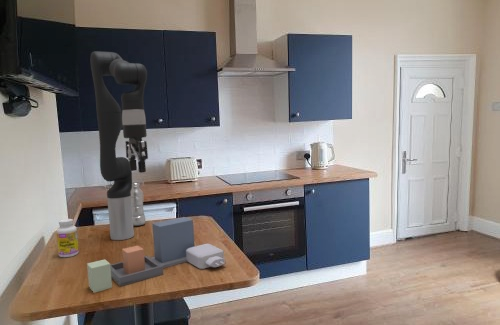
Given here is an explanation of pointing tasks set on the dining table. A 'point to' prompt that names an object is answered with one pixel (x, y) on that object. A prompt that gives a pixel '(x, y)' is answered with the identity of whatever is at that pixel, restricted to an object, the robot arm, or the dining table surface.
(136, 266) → the terracotta block
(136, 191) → the plastic bottle
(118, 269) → the tray
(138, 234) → the dining table surface
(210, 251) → the charger
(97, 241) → the dining table surface
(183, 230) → the block
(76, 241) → the supplement bottle
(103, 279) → the sage block
